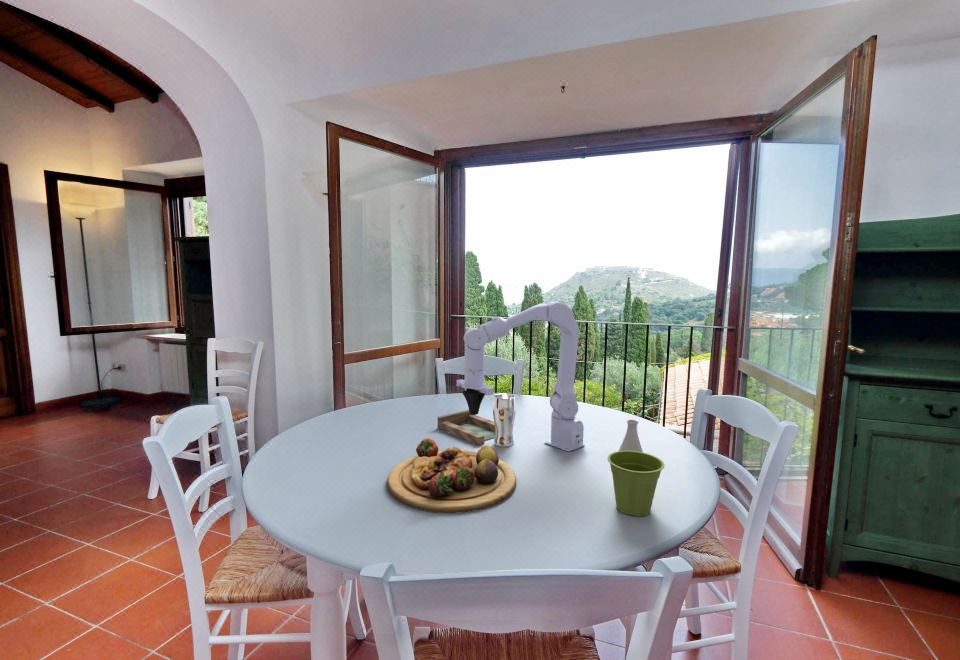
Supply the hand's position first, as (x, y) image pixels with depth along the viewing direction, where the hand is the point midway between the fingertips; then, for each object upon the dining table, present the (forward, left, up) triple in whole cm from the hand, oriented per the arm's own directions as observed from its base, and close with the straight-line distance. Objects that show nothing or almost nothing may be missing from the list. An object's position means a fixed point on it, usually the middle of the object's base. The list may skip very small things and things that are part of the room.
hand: (474, 414), depth 139 cm
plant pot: (-51, -3, -11) cm, 52 cm away
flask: (-33, -32, -11) cm, 47 cm away
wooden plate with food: (-14, +19, -11) cm, 26 cm away
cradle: (+10, -9, -10) cm, 17 cm away
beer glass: (-3, -9, -11) cm, 15 cm away
